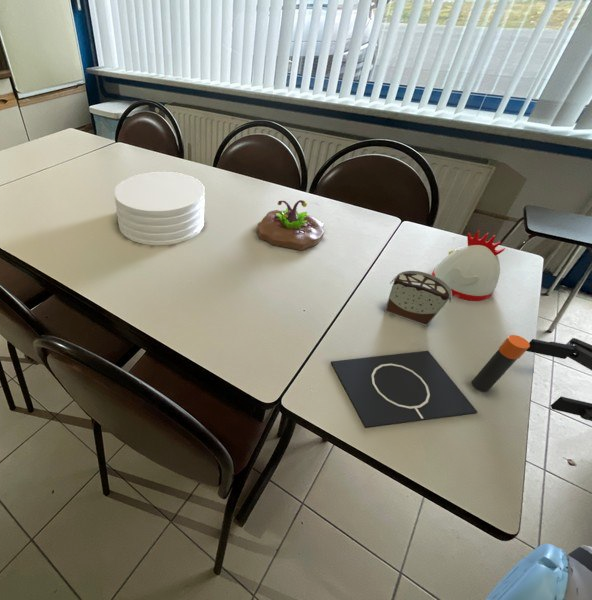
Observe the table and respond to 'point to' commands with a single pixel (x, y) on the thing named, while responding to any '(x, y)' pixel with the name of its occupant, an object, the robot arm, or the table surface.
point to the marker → (500, 362)
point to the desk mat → (400, 389)
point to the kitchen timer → (471, 269)
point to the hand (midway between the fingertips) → (541, 371)
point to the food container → (417, 296)
